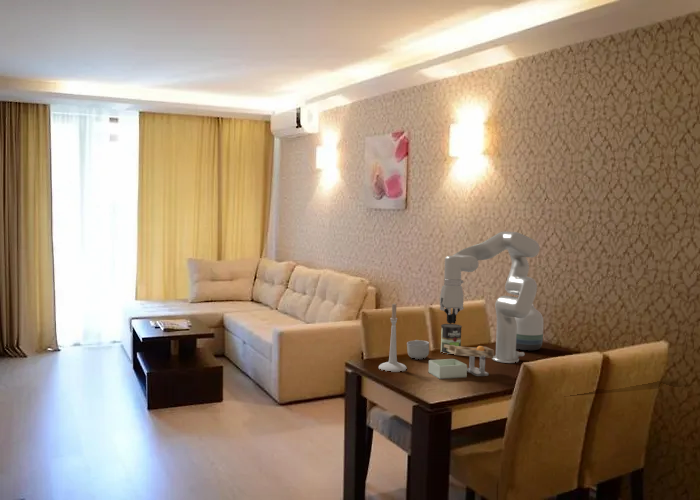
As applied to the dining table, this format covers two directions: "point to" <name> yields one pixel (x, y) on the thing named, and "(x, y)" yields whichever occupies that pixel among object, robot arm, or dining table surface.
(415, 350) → the teacup
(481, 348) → the ball
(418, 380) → the dining table surface
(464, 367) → the pale green open box
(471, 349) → the lever
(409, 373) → the dining table surface
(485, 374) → the lever stand
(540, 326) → the vase
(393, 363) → the candlestick
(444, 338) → the coffee can
